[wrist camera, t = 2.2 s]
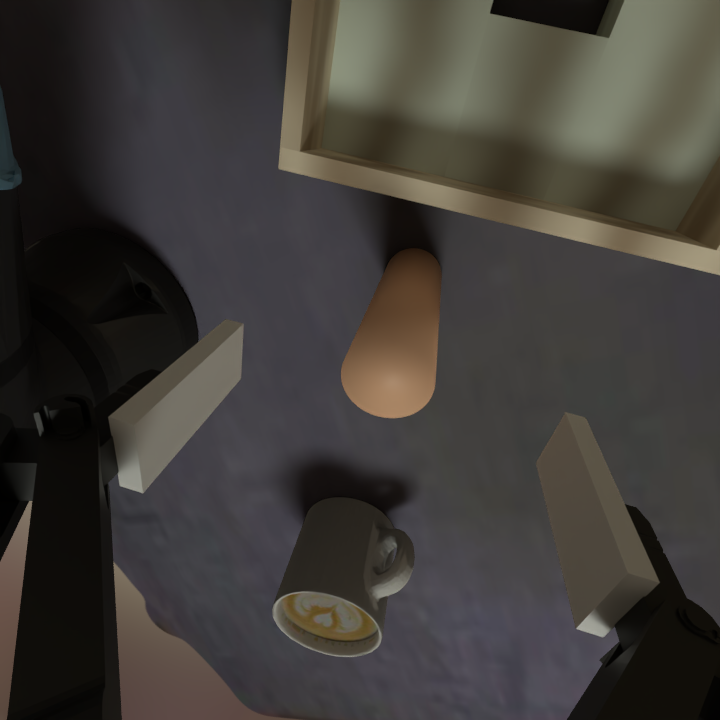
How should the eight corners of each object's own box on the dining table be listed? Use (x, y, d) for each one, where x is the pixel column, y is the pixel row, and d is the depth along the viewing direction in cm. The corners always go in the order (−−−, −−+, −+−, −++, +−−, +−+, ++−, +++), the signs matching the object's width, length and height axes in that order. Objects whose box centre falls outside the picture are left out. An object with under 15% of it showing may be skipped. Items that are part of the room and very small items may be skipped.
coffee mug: (332, 564, 48) (306, 659, 39) (289, 506, 44) (251, 597, 36) (440, 549, 43) (438, 653, 34) (402, 482, 39) (389, 581, 31)
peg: (379, 294, 30) (334, 404, 18) (392, 241, 28) (349, 326, 16) (432, 308, 30) (420, 428, 18) (448, 256, 28) (447, 352, 16)
